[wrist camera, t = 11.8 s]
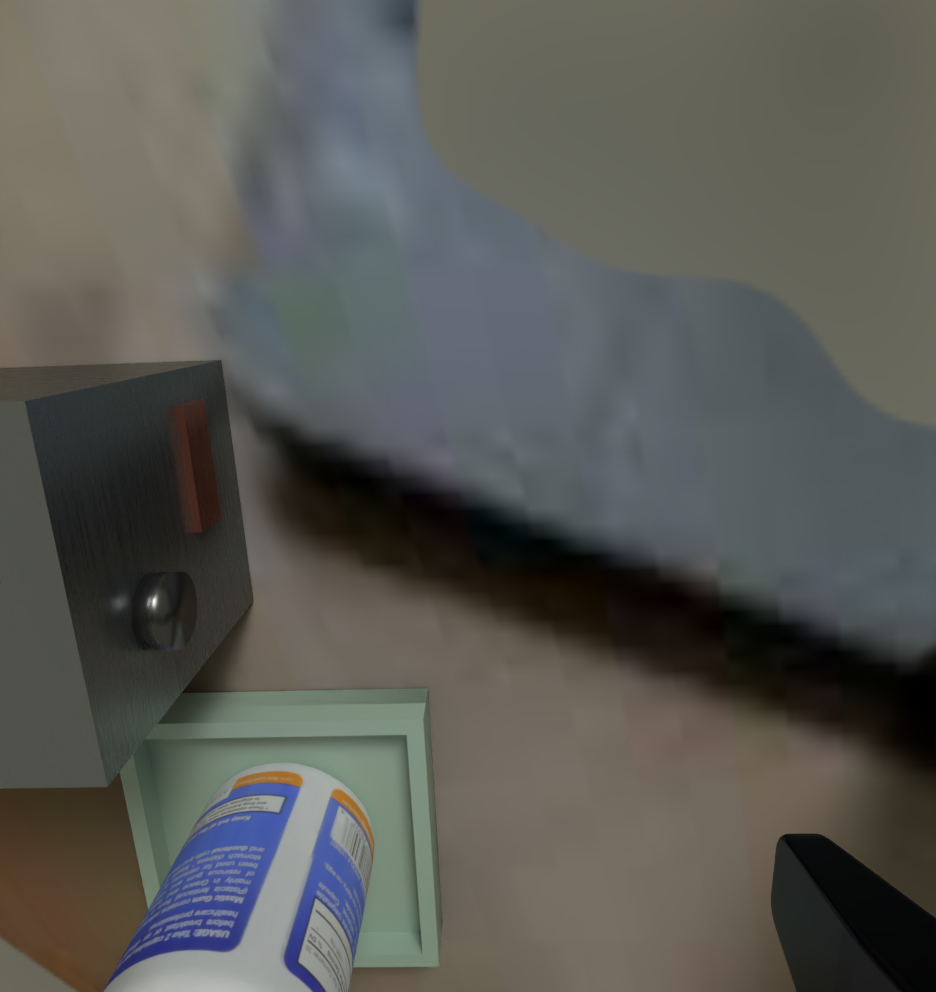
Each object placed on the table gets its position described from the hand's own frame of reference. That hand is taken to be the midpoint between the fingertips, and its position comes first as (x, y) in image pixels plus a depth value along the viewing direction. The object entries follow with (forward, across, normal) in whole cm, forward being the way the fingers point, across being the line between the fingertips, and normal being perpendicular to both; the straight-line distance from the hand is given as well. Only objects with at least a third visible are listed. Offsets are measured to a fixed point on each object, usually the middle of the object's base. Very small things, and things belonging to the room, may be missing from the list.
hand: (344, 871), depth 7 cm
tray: (+12, +5, +10) cm, 17 cm away
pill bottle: (+12, +5, +10) cm, 16 cm away
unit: (+12, +9, -1) cm, 15 cm away
